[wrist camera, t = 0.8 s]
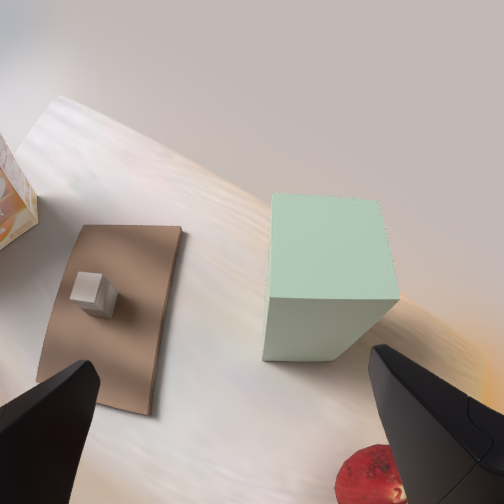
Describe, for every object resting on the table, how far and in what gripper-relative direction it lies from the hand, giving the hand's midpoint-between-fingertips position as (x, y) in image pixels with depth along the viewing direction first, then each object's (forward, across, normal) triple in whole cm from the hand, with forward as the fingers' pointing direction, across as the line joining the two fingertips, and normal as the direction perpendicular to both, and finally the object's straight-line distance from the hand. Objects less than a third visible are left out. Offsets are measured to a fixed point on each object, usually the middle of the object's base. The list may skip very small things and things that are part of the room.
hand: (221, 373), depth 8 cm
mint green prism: (+14, -4, +8) cm, 17 cm away
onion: (+4, -7, +17) cm, 19 cm away
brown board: (+15, +14, +6) cm, 21 cm away
